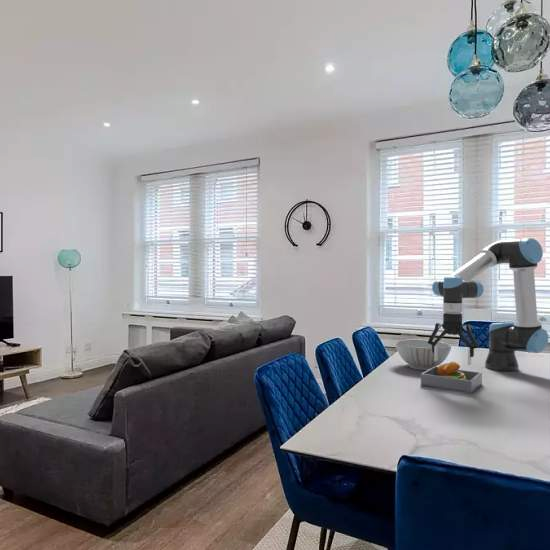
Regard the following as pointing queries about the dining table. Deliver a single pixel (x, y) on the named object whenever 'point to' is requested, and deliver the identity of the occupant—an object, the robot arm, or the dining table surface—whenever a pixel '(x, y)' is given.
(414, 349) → the decorative bowl
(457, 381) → the bin
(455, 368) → the cheeseburger
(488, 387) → the dining table surface
